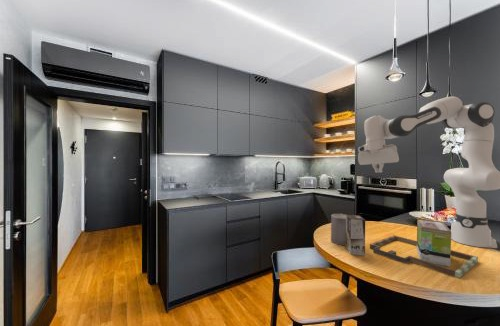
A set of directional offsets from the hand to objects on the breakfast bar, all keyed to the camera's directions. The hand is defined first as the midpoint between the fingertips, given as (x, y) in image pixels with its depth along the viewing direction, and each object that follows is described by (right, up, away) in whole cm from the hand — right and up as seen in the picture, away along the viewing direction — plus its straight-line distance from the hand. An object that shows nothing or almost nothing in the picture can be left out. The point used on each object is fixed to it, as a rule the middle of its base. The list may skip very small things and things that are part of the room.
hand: (378, 172), depth 115 cm
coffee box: (-19, -37, -13) cm, 43 cm away
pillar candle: (-20, -37, -1) cm, 42 cm away
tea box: (+12, -37, -19) cm, 43 cm away
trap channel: (+8, -37, -17) cm, 41 cm away
